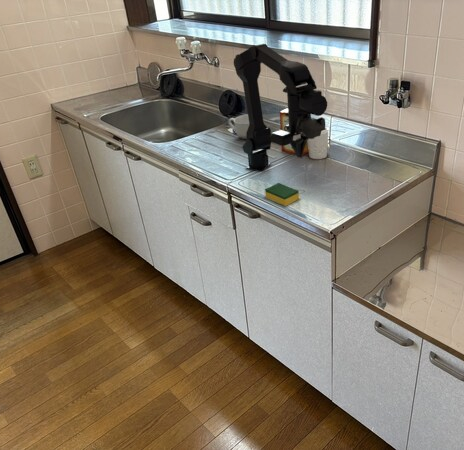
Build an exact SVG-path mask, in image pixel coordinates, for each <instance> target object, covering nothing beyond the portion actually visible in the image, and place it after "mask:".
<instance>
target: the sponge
mask: <svg viewBox="0 0 464 450" xmlns="http://www.w3.org/2000/svg"><path fill="white" fill-rule="evenodd" d="M264 195H265V199H267V200H270V201H273V202H275V203H277V204H279V205H281V206H284V207H286V206H288V205H290V204H292V203H294V202H296V201H298V200H300V194H299V190H298V189H295V188H293V187H290V186H288V185H286V184H283V183H280V182H277V183H275V184H273V185H272V186H269V187H266V188H265V189H264Z"/></svg>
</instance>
